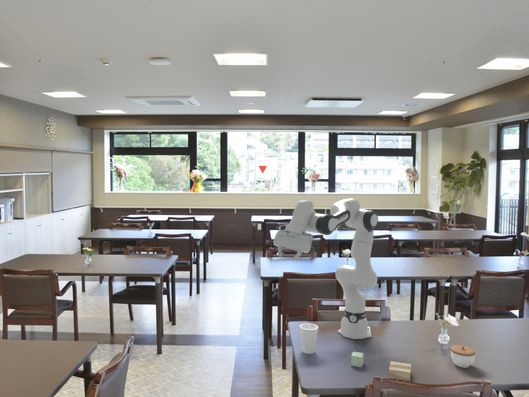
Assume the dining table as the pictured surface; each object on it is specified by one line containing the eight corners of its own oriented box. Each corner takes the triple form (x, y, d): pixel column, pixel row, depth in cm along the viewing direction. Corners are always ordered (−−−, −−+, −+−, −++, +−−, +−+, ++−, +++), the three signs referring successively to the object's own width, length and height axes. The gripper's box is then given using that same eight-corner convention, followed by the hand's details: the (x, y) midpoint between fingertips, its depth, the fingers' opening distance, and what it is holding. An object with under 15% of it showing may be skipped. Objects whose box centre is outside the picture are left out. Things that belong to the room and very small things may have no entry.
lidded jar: (473, 372, 201) (473, 352, 201) (448, 366, 207) (449, 347, 207) (475, 363, 211) (476, 344, 210) (452, 358, 216) (452, 340, 216)
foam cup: (316, 356, 217) (317, 330, 217) (298, 354, 219) (298, 329, 219) (318, 348, 227) (318, 324, 226) (300, 346, 229) (301, 322, 228)
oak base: (390, 369, 203) (390, 361, 203) (410, 372, 200) (411, 364, 200) (388, 377, 195) (388, 369, 195) (409, 381, 192) (410, 372, 191)
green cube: (352, 361, 212) (353, 351, 211) (363, 363, 210) (363, 353, 210) (351, 365, 207) (351, 355, 207) (361, 367, 205) (361, 357, 205)
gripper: (317, 236, 205) (308, 264, 202) (283, 230, 218) (274, 256, 215) (310, 232, 201) (301, 260, 197) (276, 225, 214) (267, 252, 211)
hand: (287, 258), depth 206 cm, fingers open, 8 cm apart
